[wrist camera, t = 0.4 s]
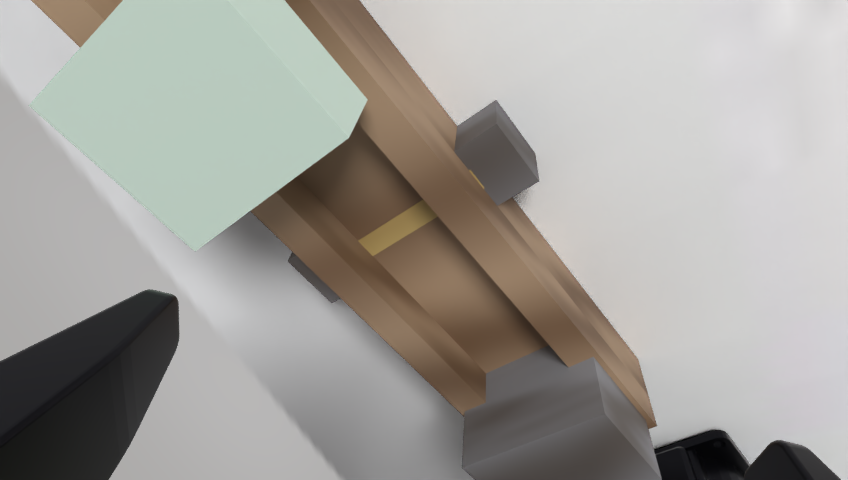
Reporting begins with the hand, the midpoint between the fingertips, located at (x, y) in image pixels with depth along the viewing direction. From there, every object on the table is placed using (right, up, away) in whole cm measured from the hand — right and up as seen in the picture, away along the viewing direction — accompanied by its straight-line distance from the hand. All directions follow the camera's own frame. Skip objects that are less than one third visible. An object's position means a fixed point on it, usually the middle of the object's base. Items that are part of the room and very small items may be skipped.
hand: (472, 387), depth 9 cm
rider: (-6, +7, +8) cm, 12 cm away
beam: (-1, +4, +13) cm, 14 cm away
